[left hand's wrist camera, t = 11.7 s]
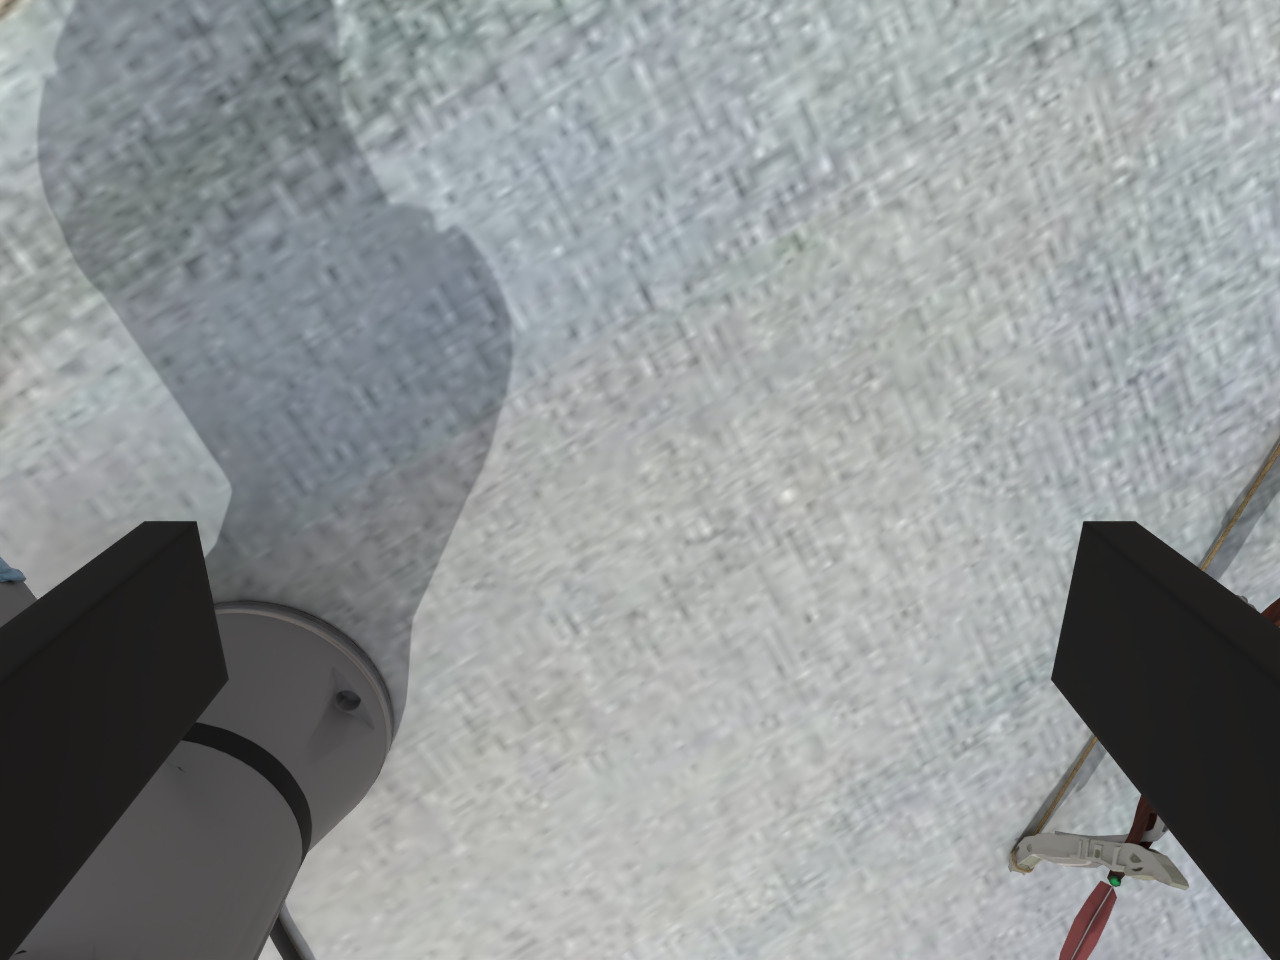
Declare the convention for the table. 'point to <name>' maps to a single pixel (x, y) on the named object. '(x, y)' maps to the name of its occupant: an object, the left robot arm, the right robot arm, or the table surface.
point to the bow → (1115, 850)
